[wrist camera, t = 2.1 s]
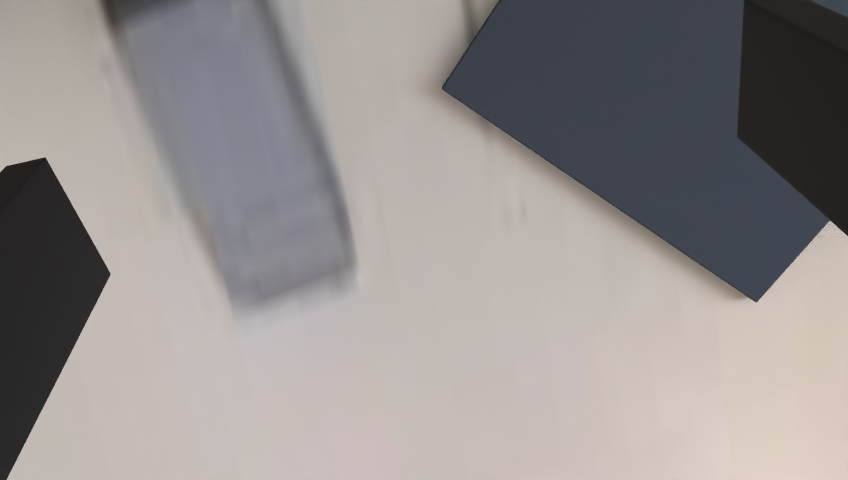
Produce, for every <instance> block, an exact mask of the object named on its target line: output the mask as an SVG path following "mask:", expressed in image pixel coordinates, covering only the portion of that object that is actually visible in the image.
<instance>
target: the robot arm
mask: <svg viewBox="0 0 848 480" xmlns="http://www.w3.org/2000/svg"><path fill="white" fill-rule="evenodd" d="M737 137H738V138H739V139H740V140H741V141H742V142H743V143H744V144H745V145H747V146H748V147H749V148H750V149H751V150H752V151H753V152H754V153H756V154H757V155H758V156H759V157H760V158H761V159H762V160H763V161H764V162H766V163H767V164H768V165H769V166H770V167H771V168H772V169H773V170H775V171H776V172H777V173H778V174H779V175H780V176H781V177H782V178H784V179H785V180H786V181H787V182H788V183H789V184H790V185H791V186H792V187H794V188H795V189H796V190H797V191H798V192H799V193H800V194H801V195H803V196H804V197H805V198H806V199H807V200H808V201H809V202H810V203H811V204H813V205H814V206H815V207H816V208H817V209H818V210H819V211H820V212H822V213H823V214H824V215H825V216H826V217H827V218H828V219H829V220H830V221H832V222H833V223H834V224H835V225H836V226H837V227H838V228H839V229H841V230H842V231H843V232H844V233H845V234H846V235H847V236H848V17H846V16H844V15H842V14H839V13H837V12H835V11H833V10H830V9H828V8H826V7H824V6H822V5H819V4H817V3H815V2H813V1H811V0H744V8H743V27H742V47H741V67H740V86H739V106H738V125H737ZM109 276H110V272H109V270H108V268H107V267H106V265H105V263H104V261H103V259H102V258H101V256H100V254H99V252H98V250H97V249H96V247H95V245H94V243H93V242H92V240H91V238H90V236H89V234H88V233H87V231H86V229H85V227H84V225H83V224H82V222H81V220H80V218H79V217H78V215H77V213H76V211H75V209H74V208H73V206H72V204H71V202H70V200H69V199H68V197H67V195H66V193H65V192H64V190H63V188H62V186H61V184H60V183H59V181H58V179H57V177H56V175H55V174H54V172H53V170H52V168H51V167H50V165H49V163H48V161H47V159H46V158H41V159H36V160H32V161H27V162H23V163H19V164H14V165H10V166H6V167H5V168H4V169H3V170H2V171H1V172H0V480H7V478H8V476H9V474H10V472H11V470H12V468H13V466H14V464H15V462H16V460H17V458H18V456H19V454H20V452H21V450H22V448H23V446H24V444H25V442H26V440H27V438H28V436H29V434H30V432H31V430H32V428H33V426H34V424H35V422H36V420H37V418H38V416H39V414H40V412H41V410H42V409H43V407H44V405H45V403H46V401H47V399H48V397H49V395H50V393H51V391H52V389H53V387H54V385H55V383H56V381H57V379H58V377H59V375H60V373H61V371H62V369H63V367H64V365H65V363H66V361H67V359H68V357H69V355H70V353H71V351H72V349H73V347H74V345H75V343H76V341H77V340H78V338H79V336H80V334H81V332H82V330H83V328H84V326H85V324H86V322H87V320H88V318H89V316H90V314H91V312H92V310H93V308H94V306H95V304H96V302H97V300H98V298H99V296H100V294H101V292H102V290H103V288H104V286H105V284H106V282H107V280H108V278H109Z"/></svg>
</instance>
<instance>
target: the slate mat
mask: <svg viewBox="0 0 848 480" xmlns="http://www.w3.org/2000/svg"><path fill="white" fill-rule="evenodd" d="M811 1H813V2H815V3H817V4H819V5H822V6H824V7H826V8H828V9H830V10H833V11H835V12H837V13H839V14H842V15H844V16H846V17H848V0H811ZM743 8H744V0H499V1H498V3H497V4H496V6H495V7H494V9H493V11H492V12H491V14H490V15H489V17H488V18H487V20H486V21H485V23H484V24H483V26H482V27H481V29H480V30H479V32H478V33H477V35H476V36H475V38H474V39H473V41H472V42H471V44H470V45H469V47H468V48H467V50H466V51H465V53H464V54H463V56H462V57H461V59H460V61H459V62H458V64H457V65H456V67H455V68H454V70H453V71H452V73H451V74H450V76H449V77H448V79H447V80H446V82H445V83H444V85H443V86H442V89H443V90H444V91H445V92H447V93H448V94H450V95H451V96H453V97H454V98H456V99H457V100H459V101H460V102H462V103H463V104H465V105H466V106H468V107H469V108H470V109H472V110H473V111H475V112H476V113H478V114H479V115H481V116H482V117H484V118H485V119H487V120H488V121H490V122H491V123H493V124H494V125H496V126H497V127H498V128H500V129H501V130H503V131H504V132H506V133H507V134H509V135H510V136H512V137H513V138H515V139H516V140H518V141H519V142H521V143H522V144H523V145H525V146H526V147H528V148H529V149H531V150H532V151H534V152H535V153H537V154H538V155H540V156H541V157H543V158H544V159H546V160H547V161H549V162H550V163H551V164H553V165H554V166H556V167H557V168H559V169H560V170H562V171H563V172H565V173H566V174H568V175H569V176H571V177H572V178H574V179H575V180H577V181H578V182H579V183H581V184H582V185H584V186H585V187H587V188H588V189H590V190H591V191H593V192H594V193H596V194H597V195H599V196H600V197H602V198H603V199H605V200H606V201H607V202H609V203H610V204H612V205H613V206H615V207H616V208H618V209H619V210H621V211H622V212H624V213H625V214H627V215H628V216H630V217H631V218H633V219H634V220H635V221H637V222H638V223H640V224H641V225H643V226H644V227H646V228H647V229H649V230H650V231H652V232H653V233H655V234H656V235H658V236H659V237H660V238H662V239H663V240H665V241H666V242H668V243H669V244H671V245H672V246H674V247H675V248H677V249H678V250H680V251H681V252H683V253H684V254H686V255H687V256H688V257H690V258H691V259H693V260H694V261H696V262H697V263H699V264H700V265H702V266H703V267H705V268H706V269H708V270H709V271H711V272H712V273H714V274H715V275H716V276H718V277H719V278H721V279H722V280H724V281H725V282H727V283H728V284H730V285H731V286H733V287H734V288H736V289H737V290H739V291H740V292H742V293H743V294H744V295H746V296H747V297H749V298H750V299H752V300H753V301H755V302H757V301H758V300H759V299H760V298H761V297H762V296H763V295H764V294H765V292H766V291H767V290H768V289H769V288H770V287H771V286H772V285H773V283H774V282H775V281H776V280H777V279H778V278H779V277H780V276H781V274H782V273H783V272H784V271H785V270H786V269H787V268H788V267H789V265H790V264H791V263H792V262H793V261H794V260H795V259H796V258H797V257H798V255H799V254H800V253H801V252H802V251H803V250H804V249H805V248H806V246H807V245H808V244H809V243H810V242H811V241H812V240H813V239H814V237H815V236H816V235H817V234H818V233H819V232H820V231H821V230H822V228H823V227H824V226H825V225H826V224H827V223H828V222H829V221H830V220H829V219H828V218H827V217H826V216H825V215H824V214H823V213H822V212H820V211H819V210H818V209H817V208H816V207H815V206H814V205H813V204H811V203H810V202H809V201H808V200H807V199H806V198H805V197H804V196H803V195H801V194H800V193H799V192H798V191H797V190H796V189H795V188H794V187H792V186H791V185H790V184H789V183H788V182H787V181H786V180H785V179H784V178H782V177H781V176H780V175H779V174H778V173H777V172H776V171H775V170H773V169H772V168H771V167H770V166H769V165H768V164H767V163H766V162H764V161H763V160H762V159H761V158H760V157H759V156H758V155H757V154H756V153H754V152H753V151H752V150H751V149H750V148H749V147H748V146H747V145H745V144H744V143H743V142H742V141H741V140H740V139H739V138H738V137H737V125H738V106H739V86H740V67H741V47H742V27H743Z"/></svg>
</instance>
